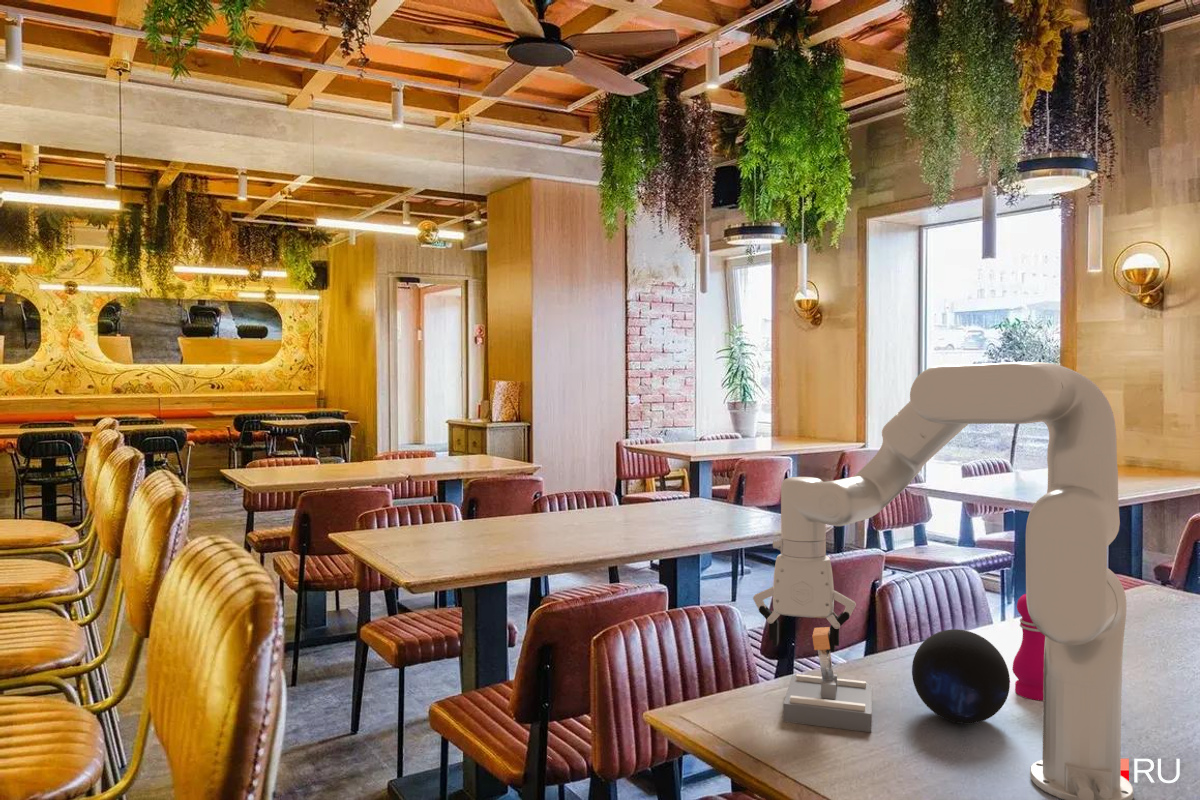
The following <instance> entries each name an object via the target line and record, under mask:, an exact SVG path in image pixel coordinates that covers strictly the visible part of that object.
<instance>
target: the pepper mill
mask: <svg viewBox="0 0 1200 800" xmlns="http://www.w3.org/2000/svg"><path fill="white" fill-rule="evenodd" d="M1016 609H1017V612H1018V614H1019V615H1020V616H1021V617H1020V618H1019V622H1020V623H1019V627H1020V628H1021V629H1022V638H1021V642H1020V647H1019V648H1018V651H1017V652H1016V655H1015V656H1014V658H1013V662H1012V672H1013V675H1015V677H1016V678H1017V680H1016V681H1015V684H1014V685H1015V686H1014V691H1015V694H1017V695H1018V696H1019V697H1022V698H1025V699H1028V700H1033V701H1042V702H1043V678H1044V646H1045V635H1043V634H1042V633H1041V632H1040V631H1039V630H1038V629H1037V627H1036V626H1035V625H1034V623H1033V621H1032V619H1031V617H1030V615H1029V612H1028V607H1027V599H1026V593H1024V594H1022V595H1021V596H1020V597H1019V598H1018V600H1017V602H1016Z"/></svg>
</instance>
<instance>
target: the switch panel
mask: <svg viewBox="0 0 1200 800" xmlns="http://www.w3.org/2000/svg"><path fill="white" fill-rule="evenodd" d="M833 674H834V680H835V682H836V683H830V682H824V681H822V676H817V675H809V674H800V673H797V674H796V675H795V676H794V675H791V677H790V681H789V684H788V687H787V689H786V690H787V691H786V695H785V697H784V701H783V705H782V706H783V708H782V709H783V713H782V714H783V716H782V717H783V718H782V719H783V720H782V722H786V723H794V724H801V725H802V724H803V725H808V726H809V725H810V726H816V727H817V726H818V727H825V728H832V729H833V728H834V729H842V730H849V731H857V732H867V733H872V723H873V722H872V721H873V718H872V717H873V714H872V713H873V684H869V683H867V681H865V680H858V679H857V680H855V679H848V678H847V679H846V678H838V673H833Z"/></svg>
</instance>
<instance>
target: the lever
mask: <svg viewBox="0 0 1200 800" xmlns="http://www.w3.org/2000/svg"><path fill="white" fill-rule="evenodd" d="M811 638H812V643H813V648H814V651H817V652H818V659H819V666H820V674H821V677H822V681H824V682H830V683H836V682H835V680H834V674H835V673H834V667H833V663H832V656H831V651H830V626H824V627H813V632H812V637H811Z"/></svg>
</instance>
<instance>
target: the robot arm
mask: <svg viewBox="0 0 1200 800" xmlns="http://www.w3.org/2000/svg"><path fill="white" fill-rule="evenodd" d="M1034 423H1044V424H1045V425H1046V427H1047V430H1048V435H1049V436H1048V445H1047V454H1046V455H1047V458H1046V459H1047V460H1046V461H1047V462H1046V463H1047V490H1046V493H1045V494H1044V495H1042V496H1040V498H1039V499H1037V500H1036V501H1035V503H1034V504H1033V506H1032V507H1031V509H1030V510H1029V513H1028V517H1027V520H1026V526H1025V594H1026V599H1027V607H1028V612H1029V615H1030V617H1031V619H1032V621H1033V623H1034V625H1035V626H1036V627H1037V629H1038V630H1039V631H1040V632H1041V633H1042V634H1043V635H1045V646H1044V678H1043V701H1042V702H1043V703H1042V759H1040V760H1037V761H1036V762H1034V763H1033V764H1031V765H1030V770H1029V775H1030V780H1031V781H1032V783H1034V784H1035V785H1036V786H1037V787H1038V788H1039V789H1040V790H1042V791H1044V792H1046V793H1048V794H1049V795H1051V796H1054V797H1056V798H1058V799H1061V800H1133V799H1134V790H1135V789H1134V787H1133V785H1132V784H1131V782H1130V781H1129V780H1128V779H1127V778H1125V777H1124V776H1122V775H1121V768H1122V767H1121V764H1122V763H1121V761H1122V760H1121V759H1122V757H1121V756H1122V752H1121V751H1122V750H1121V749H1122V699H1123V698H1122V695H1123V694H1122V690H1123V656H1124V655H1123V654H1124V641H1125V629H1126V621H1127V619H1126V618H1127V596H1126V592H1125V589H1124V586H1123V584H1122V582H1121V580H1120V579H1119V577H1118V576H1117V575H1116V574H1115V572H1114V571H1112V570H1111V569H1110V568H1108V566H1107V562H1108V559H1107V558H1108V555H1107V553H1108V547H1109V546H1110V545H1111V544H1112V543H1113V542H1114V540H1115V539H1116V537H1117V535H1118V533H1119V531H1120V525H1121V522H1120V520H1121V519H1120V507H1119V506H1120V505H1119V472H1118V471H1119V470H1118V468H1119V467H1118V454H1117V453H1118V452H1117V451H1118V450H1117V449H1118V447H1117V429H1116V421H1115V416H1114V412H1113V409H1112V407H1111V404H1110V402H1109V400H1108V399H1107V397H1106V395H1105V394H1104V392H1103V391H1102V390H1101V389H1100V387H1099V386H1098V385H1096V383H1094V382H1093V381H1092V380H1091V379H1089V378H1088V377H1086V376H1084V375H1083V374H1081V373H1079V372H1078V371H1075V370H1073V369H1071V368H1069V367H1066V366H1064V365H1063V366H1062V365H1060V364H1055V363H1051V362H1042V361H1039V362H1036V361H1035V362H1034V361H1017V362H1016V361H1013V362H1011V361H1010V362H998V363H981V364H977V363H975V364H960V365H959V364H956V365H955V364H953V365H952V364H951V365H950V364H949V365H948V364H945V365H944V364H941V365H935V366H931V367H928V368H927V369H924V370H923V371H922V372H921V373H919V374H918V376H917V377H916V378H915V380H914V381H913V383H912V385H911V387H910V392H909V401H908V403H906V404H905V406H903V407H902V408H901V409H900V410H899V411H898V412H897V413H896V414H895V415H894V416H893V417H892V418H891V419H890V420H889V421H888V422H887V423H885V425H884V426H883V428H882V429H881V436H882V444H881V446H880V448H879V450H878V451H877V453H876V454H875V455H873V458H871V459H870V460H869V461H868V462H867V463H866V464H865V465H864V466H863V467H862V468H861V469H860V470H859V471H858V472H857V473H856V474H854V475H852V476H851V477H845V478H840V479H835V480H830V481H828V480H827V481H823V480H822V479H820V478H819V477H811V476H792V477H788V478H785V479H784V480H783V481H782V482H781V487H780V512H781V514H780V524H781V525H780V526H781V529H780V530H781V532H780V534H781V535H780V539H778V540H772V548H773V549H777V550H779V551H780V554H778V555H777V556H776V559H775V563H774V564H775V565H774V572H773V586H772V587H769V588H766V589H764V590H762V591H761V592H758V593H756V594H754V596H753V597H752V599H753V601H754V604H755V606H756V607H757V609H758V612H759V614H761V616H763V618H765V620H766V621H767V623H768V636H769V637H768V639H769V641H772V647H774V648H776V647H778V645H779V643H780V621H779V620H778V618H779V617H780V616H786V617H787V616H788V617H800V618H801V617H802V618H813V619H826V620H827V621H828V622H829V624H830V626H829V627H830V653H831V652H832V653H834V652H835V651H836V646H837V647H839V646H840V628H841V627H842V625H843V624H845V623H846V622H847V621H848V620H849V619H850V617H851V615H852V613H853V612H854V610H855V608H856V605H857V603H856V601H854V600H852V599H851V598H850V597H847V596H846V595H844V594H842V593H840V592H839V591H837V590H835V587H834V577H833V568H832V567H833V566H832V563H831V559H830V557H829V556H828V555H827V551H826V550H827V543H826V541H827V539H826V538H827V537H826V536H827V535H826V533H827V527H826V526H827V525H828V526H834V527H843V526H848V525H851V524H855V523H858V522H861V521H862V522H863V521H865V520H868V519H871V518H873V517H874V516H876V515H877V514H878V513H880V512H881V511H883V509H885V508H886V507H887V506H888V505H889V504H891V502H892V501H893V500H894V499H896V498H897V497H898V496H899V495H900V494H901V493H903V491H904V490H905V489H906V488H907V487H908V486H909V485H910V483H912V481H914V478H915V477H916V476H917V475H918V474H919V473H920V472H921V470H922V469H923V467H924V466H925V464H927V463H928V462H929V461H930V460H931V459H932V458H933V457H934V456H935V455H936V454H938V452H940V450H941V449H943V448H944V446H946V445H947V444H948V443H950V441H951V440H953V439H954V438H955V437H956V436H957V435H958V434H960V432H962V431H963V430H964V429H965V427H967V426H968V425H971V424H972V425H977V424H978V425H979V424H981V425H991V424H993V425H994V424H995V425H998V424H999V425H1001V424H1003V425H1005V424H1008V425H1016V424H1017V425H1020V424H1023V425H1024V424H1034ZM771 597H772V608H773V610H771V609H770V608H769V607H768V606H767V605H766V604H765V602H764V600H766V599H768V598H771ZM835 601H836V602H837V603H840V604H841V605H843V606H844V607H845V608H844V610H843V611H842V612H841V613H840V614H838V615H837V613H835V611H834V607H835Z"/></svg>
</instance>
